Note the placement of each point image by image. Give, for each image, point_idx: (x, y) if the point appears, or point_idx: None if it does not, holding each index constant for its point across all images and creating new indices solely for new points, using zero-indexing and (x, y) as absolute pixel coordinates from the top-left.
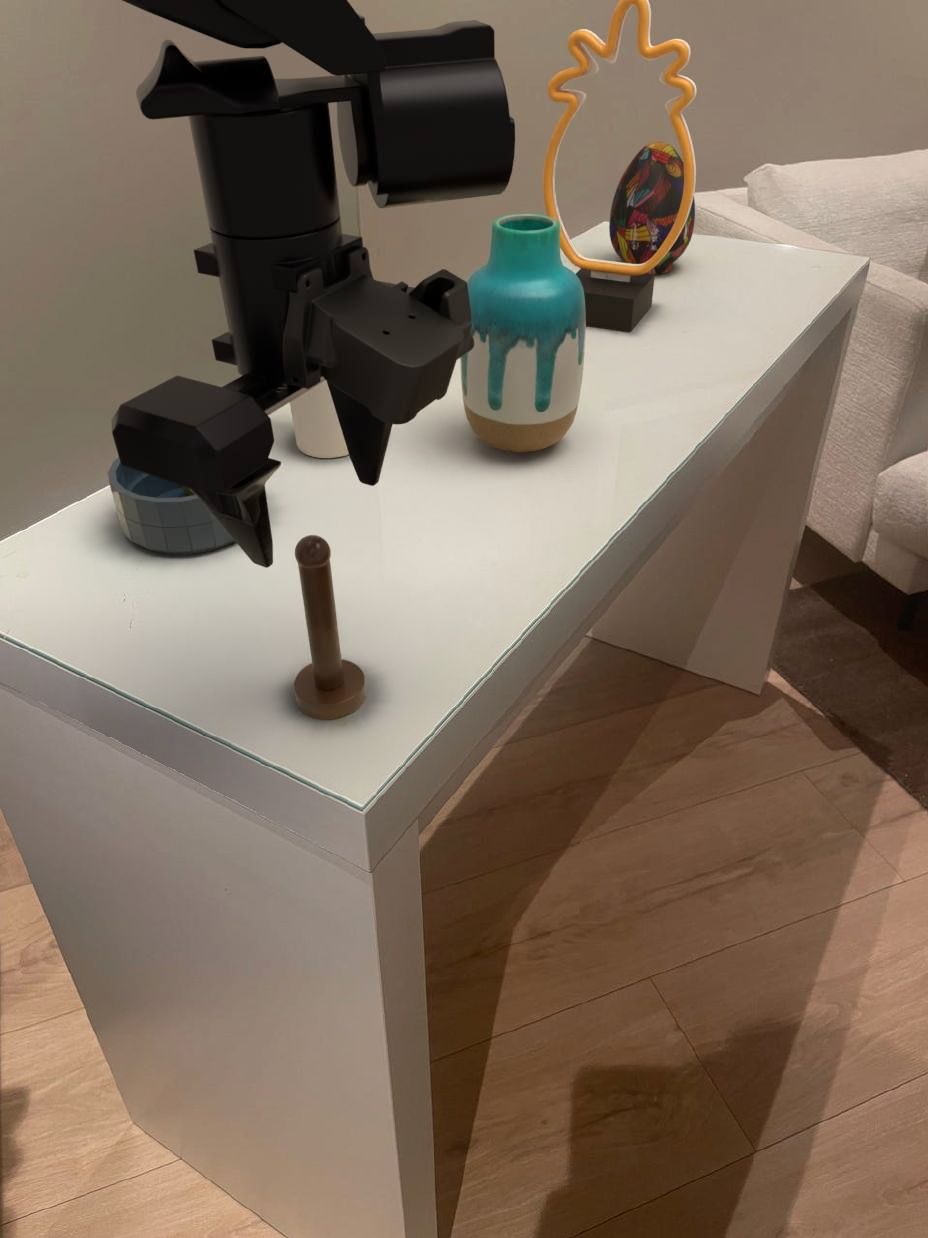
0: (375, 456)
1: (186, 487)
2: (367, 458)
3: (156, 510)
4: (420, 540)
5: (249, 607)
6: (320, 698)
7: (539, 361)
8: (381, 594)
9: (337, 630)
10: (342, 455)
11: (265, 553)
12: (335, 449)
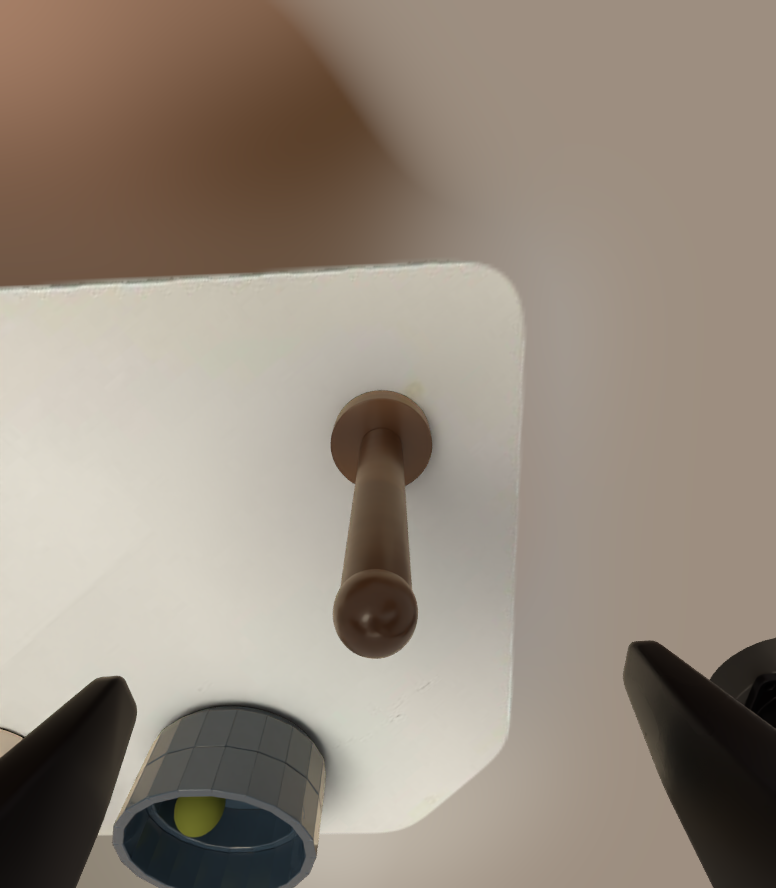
0: (33, 788)
1: (222, 807)
2: (63, 791)
3: (303, 808)
4: (44, 548)
5: (318, 618)
6: (417, 433)
7: None
8: (177, 515)
9: (366, 474)
10: (3, 731)
11: (711, 686)
12: (4, 746)
